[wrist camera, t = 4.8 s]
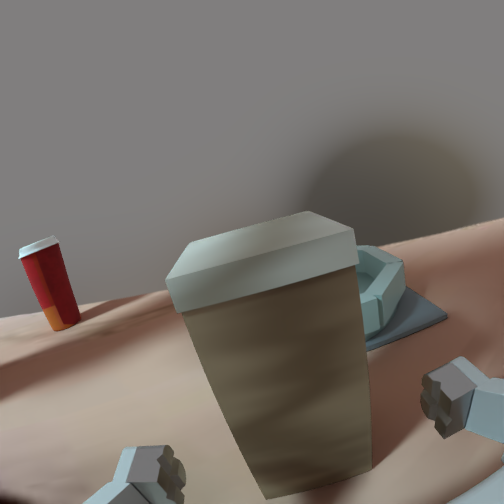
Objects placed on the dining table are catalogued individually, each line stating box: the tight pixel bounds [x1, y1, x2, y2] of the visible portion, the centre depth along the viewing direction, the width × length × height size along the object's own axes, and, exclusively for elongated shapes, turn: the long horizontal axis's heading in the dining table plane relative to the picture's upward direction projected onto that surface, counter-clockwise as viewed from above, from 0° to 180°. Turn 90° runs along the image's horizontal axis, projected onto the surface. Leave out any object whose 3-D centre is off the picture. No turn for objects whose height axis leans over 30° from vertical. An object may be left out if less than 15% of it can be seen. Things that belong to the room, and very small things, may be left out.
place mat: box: [366, 286, 447, 352], centre depth 28 cm, size 18×16×1 cm
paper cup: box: [18, 236, 81, 331], centre depth 42 cm, size 8×8×14 cm
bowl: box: [355, 245, 406, 342], centre depth 27 cm, size 16×16×3 cm
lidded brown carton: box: [165, 211, 372, 500], centre depth 12 cm, size 5×5×11 cm
